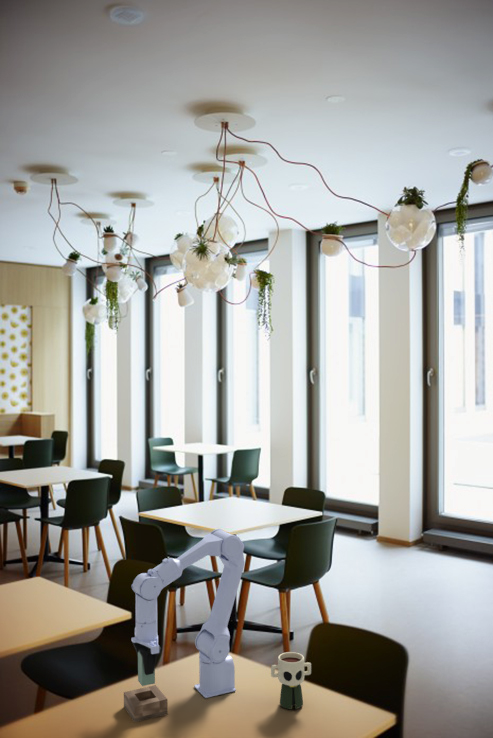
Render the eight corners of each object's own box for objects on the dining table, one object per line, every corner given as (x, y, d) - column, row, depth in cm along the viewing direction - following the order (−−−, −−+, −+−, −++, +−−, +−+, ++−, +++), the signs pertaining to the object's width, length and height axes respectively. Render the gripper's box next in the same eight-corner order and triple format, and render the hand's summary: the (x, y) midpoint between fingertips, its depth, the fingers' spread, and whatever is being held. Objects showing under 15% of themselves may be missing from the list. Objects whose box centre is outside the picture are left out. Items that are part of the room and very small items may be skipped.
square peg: (150, 678, 196) (150, 648, 195) (154, 683, 192) (154, 653, 192) (138, 680, 194) (137, 651, 194) (142, 686, 191) (142, 655, 191)
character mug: (273, 713, 190) (273, 664, 190) (268, 700, 197) (268, 653, 197) (314, 710, 191) (314, 661, 191) (308, 697, 199) (307, 650, 198)
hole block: (155, 699, 198) (155, 685, 198) (167, 714, 190) (167, 699, 190) (123, 707, 194) (123, 692, 194) (134, 722, 186) (134, 706, 186)
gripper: (123, 613, 198) (124, 663, 198) (140, 632, 185) (140, 685, 185) (148, 609, 201) (148, 658, 201) (166, 627, 188) (167, 679, 188)
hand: (146, 670), depth 193 cm, fingers closed on square peg, 3 cm apart
